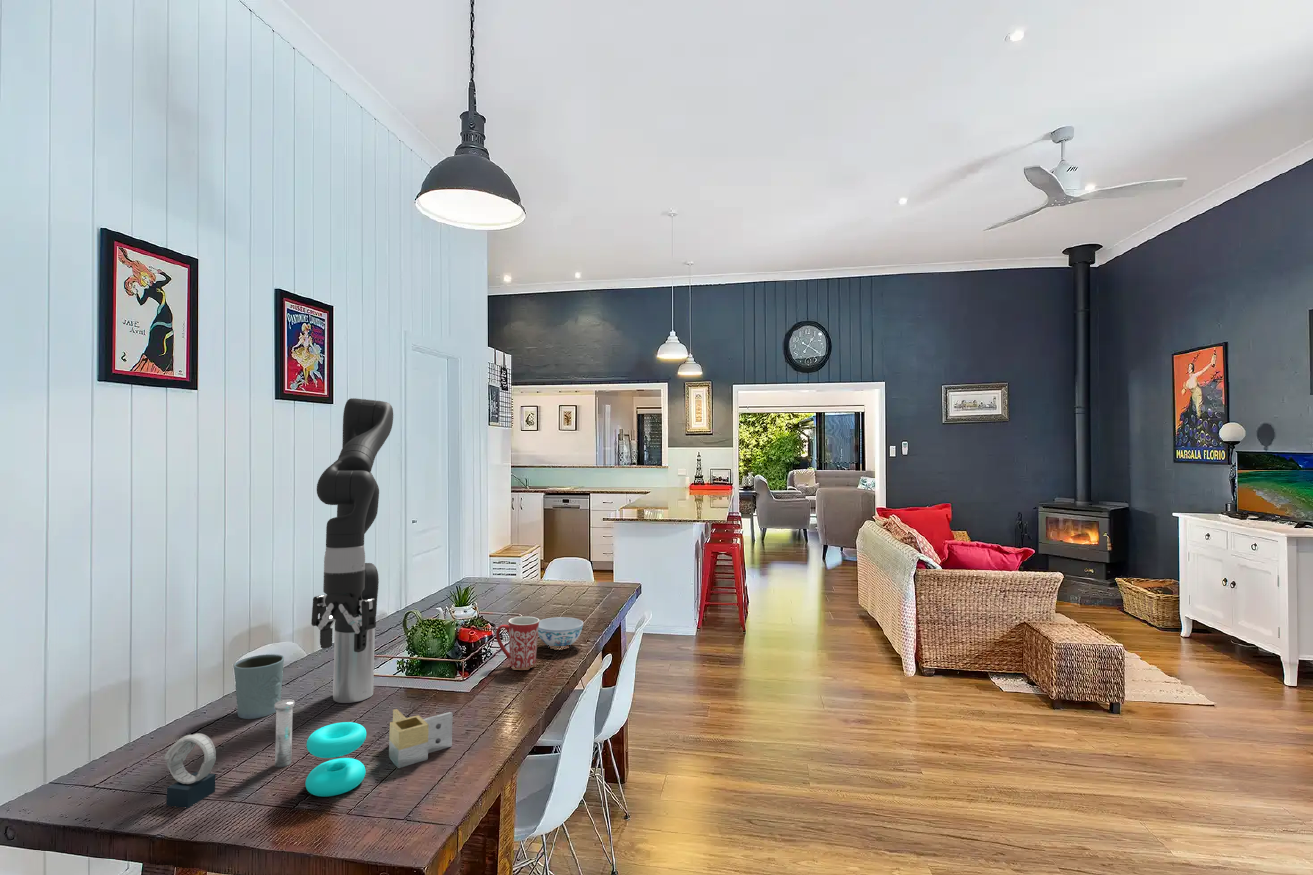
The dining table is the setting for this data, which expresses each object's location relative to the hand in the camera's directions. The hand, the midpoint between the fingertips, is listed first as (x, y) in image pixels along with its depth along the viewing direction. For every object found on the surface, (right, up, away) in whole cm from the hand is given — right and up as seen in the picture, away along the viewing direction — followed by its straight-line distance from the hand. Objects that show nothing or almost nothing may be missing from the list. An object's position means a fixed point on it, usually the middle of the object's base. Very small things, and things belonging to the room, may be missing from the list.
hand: (342, 649), depth 127 cm
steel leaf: (+15, -22, +2) cm, 27 cm away
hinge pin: (-11, -22, -3) cm, 24 cm away
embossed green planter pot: (-31, -22, +22) cm, 44 cm away
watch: (-20, -22, -15) cm, 33 cm away
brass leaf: (+11, -22, +3) cm, 25 cm away
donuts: (+4, -22, -10) cm, 25 cm away
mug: (+23, -24, +56) cm, 65 cm away
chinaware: (+32, -25, +74) cm, 84 cm away
